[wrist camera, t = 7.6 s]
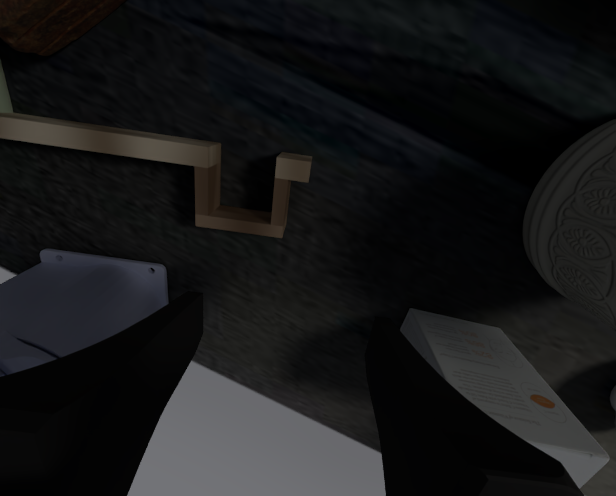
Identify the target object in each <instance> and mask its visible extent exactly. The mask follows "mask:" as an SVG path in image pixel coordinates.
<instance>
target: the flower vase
mask: <svg viewBox="0 0 616 496" xmlns="http://www.w3.org/2000/svg"><path fill="white" fill-rule="evenodd" d="M610 404H611V406H612V407H613V409H614V410H615V411H616V385H615V386H614V388H613V389H612V391H611V394H610ZM614 422H615V428H616V412H615V416H614Z"/></svg>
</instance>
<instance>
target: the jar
mask: <svg viewBox="0 0 616 496" xmlns="http://www.w3.org/2000/svg"><path fill="white" fill-rule="evenodd" d="M522 235H523V243H524V248H525V251H526V254H527V256H528V258H529V260H530V262H531V264H532V265H533V266H534V268H535V269H536V270H537V271H538V273H539V274H540V276H541V277H542V278H543V279H544V280H545V282H546V283H548V284H549V285H550V286H551V287H552V288H554V289H555V290H556V291H557V292H559V293H560V294H561V295H563V296H564V297H566V298H567V299H569V300H571V301H573V302H575V303H578V304H580V305H581V306H582V307H584V308H585V309H587V310H588V311H589V312H591V313H592V314H593V315H595V316H596V317H597V318H599V319H600V320H601V321H603V322H604V323H606V324H607V325H608V326H610V327H611V328H612V329H614V330H615V331H616V119H613V120H611V121H609V122H607V123H605V124H603V125H601V126H599V127H597V128H595V129H594V130H592V131H590V132H589V133H587V134H586V135H584V136H583V137H581V138H580V139H579V140H577V141H576V142H575V143H573V144H572V145H571V146H570V147H569V148H567V149H566V150H565V151H564V152H563V153H562V154H561V155H560V156H559V157H558V158H557V159H556V160H555V161H554V162H553V163H552V165H551V166H550V167H549V168H548V169H547V171H546V172H545V173H544V175H543V176H542V178H541V179H540V181H539V182H538V184H537V186H536V187H535V189H534V191H533V193H532V195H531V197H530V200H529V202H528V205H527V208H526V211H525V215H524V220H523V232H522Z"/></svg>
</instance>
